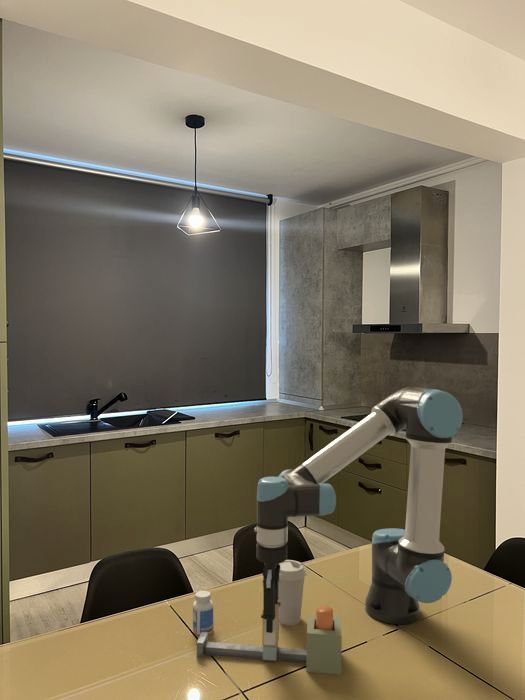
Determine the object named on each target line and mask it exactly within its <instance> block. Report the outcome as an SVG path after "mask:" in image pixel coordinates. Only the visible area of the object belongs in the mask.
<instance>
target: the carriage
mask: <svg viewBox="0 0 525 700" xmlns="http://www.w3.org/2000/svg"><path fill="white" fill-rule="evenodd" d="M275 616H276V643H275V645H266V644H264V619H263V618H262V631H261V632H262V641H261V642H262V644H261V646H263V660H262V661H269V660H274V661H273V662H277V661H276V656H277V647H279V640H280V639H279V638H280V623H279V604H275Z"/></svg>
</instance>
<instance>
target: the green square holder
mask: <svg viewBox="0 0 525 700" xmlns="http://www.w3.org/2000/svg"><path fill="white" fill-rule="evenodd" d="M306 625H307V626H306V650H307V658H306V671H305V672H306V673H315V674H329V675H340V676H341V675H342V641H343V640H342V639H343V638H342V635H343V634H342V616H338V615H337V616H336V615H333V630H320V629H316V614H311V613H309V614H308V615H307V624H306Z"/></svg>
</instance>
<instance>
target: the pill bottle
mask: <svg viewBox="0 0 525 700" xmlns="http://www.w3.org/2000/svg"><path fill="white" fill-rule="evenodd" d="M194 600H195V601H193V603H192V631H193V633H194V634H196V635H197V636H200V634H201V632H208V635H209V634H212V633H213V631H214V602H213V601H212V600H211V592H210V591H207V590H198V591H197V592H196V593H195V599H194Z"/></svg>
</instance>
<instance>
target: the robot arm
mask: <svg viewBox="0 0 525 700" xmlns="http://www.w3.org/2000/svg"><path fill="white" fill-rule="evenodd" d="M461 406H462V405H461V404H460V401H458V399H456V397H455V396H453V395H452V394H450V393H449V392H447V391H444V390H443V391H442V390H441V389H436V388H428V387H427V388H425V387H419V386H407V387H404V388H401V389H399V390H397V391H395V392H393V393H391V394H390V395H388V396H387V397H385V398H384V399H383V400H381V401H379V402H378V403H377V404H376V405H374V406H373V407H372V408H371V413H370V414H368V415H367V416H365V417H364V418H363V419H361V420H360V421H359V422H357V423H356V424H355V425H353V426H352V427H350V428H349V429H348V430H346V431H345V432H343V433H342V434H341V435H339V436H338V437H337V438H336V439H334V440H332V441H331V442H330V443H329V444H327V445H326V446H324V448H322V449H321V450H319V451H318V452H316V453H315V454H314V455H312V456H311V457H310V458H308V459H307V460H305V461H304V462H303V463H302V464H300V465H298V466H297V467H295V468H294V469H293V468H291V469H285V470H283V471H282V472H280V474H279V475H278V476H265V477H262V478H260V479H259V480H258V482H257V488H256V527H254V529H253V531H254V532H255V533H256V544H255V545H256V546H255V547H256V549H255V552H256V553H255V556H256V557H255V558H256V559H257V561H259V562H260V563H263V564H264V565H263V568H262V576H263V577H262V579H263V580H262V585H263V586H262V588H263V603H262V604H263V607H262V614H261V615H260V619H262V620H263V619H264V644H266V645H275V643H276V616H275V604H279V607H280V605H281V603H280V602H278V599H279V597H278V584H279V573H280V565H279V563H282V562H284V561H285V560H288V541H289V539H288V537H289V536H288V533H289V532H288V531H289V530H288V529H289V524H288V522H289V521H288V520H289V518H296V517H297V518H298V517H299V518H300V517H301V518H302V517H313V516H316V517H317V516H319V517H321V516H325V515H330V514H332V513H334V511H335V509H336V506H337V494H336V491H335V489H334V487H333V486H332V484H330V483H326V482H327V481H328V480H329V479H330V478H332V477H333V476H335V475H336V474H337V473H339V472H340V471H342V470H343V469H344V468H346V467H347V466H348V465H349V464H351V463H352V462H354V461H355V460H356V459H357V458H359V457H360V456H361V455H363V454H365V453H366V452H367V451H368V450H370V449H371V448H372V447H374V446H375V445H377V444H378V443H379V442H381V441H382V440H383V439H385V438H386V437H387V436H390V437H391V436H395V435H396V434H398V433H399V432H401V431H403V430H405V440H406V441H407V442H408V443H409V444H410V455H409V469H408V470H409V473H408V484H407V485H408V487H407V498H406V499H407V501H406V512H405V513H406V516H405V526H404V527H405V529H403V528H396V527H395V528H393V527H392V528H390V527H389V528H380V529H377V530H375V531H374V532H373V533H372V538H371V539H372V540H371V583H370V587H369V589H368V592H367V595H366V597H365V604H364V605H365V607H364V608H365V612H366V613H367V614H368V616H370V617H372V618H373V619H375V620H377V621H380V622H383V623H385V624H391V625H406V624H411V623H414V622H416V621H417V620H419V618H420V616H421V615H420V614H421V609H420V604H419V603H422V604H433V603H436V602H437V601H440V600H441V599H442V598H443V596H446V594H447V593H448V591H449V590H450V588H451V585H452V580H453V579H452V578H453V577H452V571H451V569H450V568H449V566H448V565H447V563H445V561H444V560H445V546H444V545H443V543H442V542H441V541H440V531H441V529H440V527H441V513H442V502H443V501H442V498H443V486H444V485H443V483H444V472H445V471H444V470H445V469H444V467H445V458H446V457H445V456H446V455H445V454H446V449H447V448H448V447H449V446H450V445H452V443H453V436H454V435H455V434H456V433H458V430H460V428H461V427H462V424H463V419H464V418H463V416H464V415H463V409H462V407H461Z"/></svg>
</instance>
